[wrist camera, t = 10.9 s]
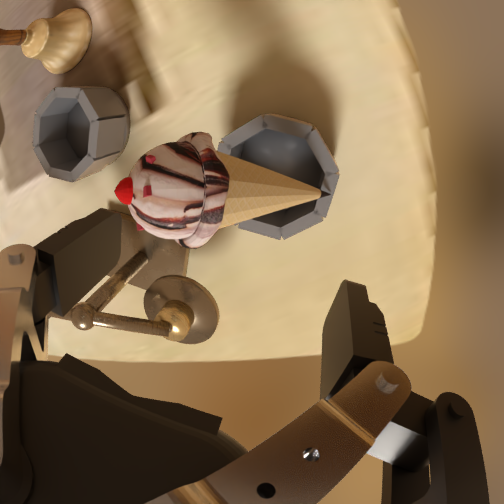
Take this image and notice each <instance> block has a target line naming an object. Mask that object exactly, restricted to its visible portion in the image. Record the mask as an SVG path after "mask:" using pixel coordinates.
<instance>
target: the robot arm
mask: <svg viewBox="0 0 504 504" xmlns="http://www.w3.org/2000/svg"><path fill="white" fill-rule="evenodd" d="M121 229H122V217H121V215H120V213H118V212H114V211H111V210H107V209H104V208H100V209H98V210H97V211H95V212H93V213H92V214H90V215H88V216H87V217H85V218H82V219H79V220H75V221H73V222H72V223H70V224H68V225H67V226H65V228H62V229H60V230H59V231H58V232H57V233H54V234H52V235H51V236H49V237H48V238H46V239H45V240H43V241H42V242H40V243H39V244H37V245H36V246H34V247H32V246H30V245H26V244H16V245H12V246H9V247H6V248H5V249H3V250H2V251H1V252H0V504H317V503H318V502H319V501H320V500H321V499H322V498H323V497H325V496H326V495H327V494H328V493H329V492H330V491H331V490H332V489H333V488H334V487H335V486H336V485H337V484H338V483H339V482H340V481H341V480H342V479H343V478H344V477H345V476H346V474H348V472H349V471H350V470H351V469H352V468H353V467H354V466H355V465H356V464H357V463H358V462H359V461H360V459H361V458H362V457H363V456H364V455H365V454H366V453H367V454H369V455H371V456H374V457H376V458H378V459H381V460H383V481H382V501H381V504H490V503H489V494H488V486H487V479H486V472H485V466H484V461H483V455H482V450H481V444H480V440H479V435H478V430H477V426H476V422H475V418H474V414H473V411H472V408H471V407H470V405H469V404H468V402H467V401H466V400H465V399H464V398H462V397H461V396H459V395H458V394H455V393H452V392H445V393H442V394H440V395H439V397H438V398H437V399H436V400H435V401H434V402H433V401H431V400H429V399H427V398H424V397H423V396H420V395H418V394H416V393H414V392H412V391H411V383H410V380H409V378H408V376H407V375H406V374H405V373H404V371H403V370H401V369H400V368H399V367H397V366H396V365H394V362H393V357H392V352H391V347H390V342H389V337H388V336H387V335H388V333H387V328H386V327H385V326H386V324H385V320H384V315H383V313H382V312H381V311H380V309H379V308H378V306H377V305H376V304H375V303H371V302H369V299H368V294H367V289H366V286H365V285H362V284H358V283H355V282H351V281H348V280H343V282H342V283H341V285H340V288H339V290H338V292H337V294H336V297H335V299H334V301H333V303H332V306H331V308H330V310H329V312H328V315H327V317H326V320H325V323H324V327H323V333H322V365H321V385H320V401H319V402H317V403H316V404H314V405H313V406H312V407H311V408H309V409H308V410H307V411H305V412H304V413H303V414H301V415H300V416H299V417H297V418H296V419H295V420H294V421H292V422H291V423H289V424H288V425H286V426H285V427H284V428H282V429H281V430H280V431H278V432H277V433H275V434H274V435H272V436H271V437H270V438H268V439H267V440H265V441H264V442H262V443H261V444H259V445H258V446H256V447H255V448H253V449H252V450H250V451H249V452H248V451H247V450H246V449H245V448H244V447H243V446H242V445H241V444H240V443H238V442H237V441H236V440H235V439H233V438H232V437H230V436H229V435H228V434H226V433H224V432H223V431H221V430H219V427H220V424H221V421H222V418H221V417H218V416H215V415H212V414H208V413H205V412H202V411H199V410H196V409H193V408H190V407H188V406H185V405H182V404H179V403H172V402H166V401H160V400H154V399H148V398H142V397H137V396H133V395H131V394H129V393H128V392H127V391H125V390H124V389H123V388H121V387H120V386H119V385H117V384H116V383H115V382H114V381H112V380H111V379H110V378H109V377H107V376H106V375H105V374H104V373H102V372H101V371H100V370H98V369H96V368H94V367H92V366H90V365H88V364H86V363H84V362H82V361H80V360H79V359H77V358H75V357H73V356H71V355H69V354H67V353H66V354H65V355H64V357H63V358H62V359H61V360H60V362H59V363H58V362H52V361H48V317H47V314H48V313H49V312H50V311H52V312H54V313H56V314H57V315H59V316H61V317H64V316H65V315H66V314H67V313H68V312H69V311H70V310H71V309H72V308H73V307H74V306H75V305H76V304H77V303H78V302H79V301H80V300H81V299H82V298H83V297H84V296H85V295H86V294H87V293H88V292H89V291H90V290H91V289H92V288H93V287H94V286H95V285H96V284H97V283H98V282H99V281H101V280H102V279H103V278H104V277H105V276H106V275H107V274H108V273H109V272H110V271H111V270H112V269H113V268H114V267H115V266H116V265H117V263H118V261H119V258H120V254H121ZM429 464H430V475H431V482H430V478H429Z"/></svg>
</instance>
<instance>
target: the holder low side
mask: <svg viewBox="0 0 504 504" xmlns="http://www.w3.org/2000/svg"><path fill="white" fill-rule="evenodd" d="M312 125H313V124H312V123H308V122H304V121H301V120H298V119H295V118H291V117H286V116H282V115H278V114H274V113H271V114H262V115H259V116H258V117H256V118H254V119H253V120H251V121H249V122H248V123H246V124H244V125H243V126H241V127H239V128H238V129H236V130H235V131H233V132H231V133H230V134H228V135H227V136H225V137H224V138H222V141H221V142H219V145H218V150H217V151H219V152H222V153H224V154H227V155H230V156H233V157H236V158H239V159H242V160H244V161H247V162H250V163H253V164H256V165H258V166H261V167H264V168H266V169H269V170H272V171H274V172H277V173H280V174H282V175H285V176H287V177H290V178H293V179H295V180H298V181H300V182H303V183H305V184H308V185H310V186H313V187H315V188H317V189H320V190H322V191H325V192H327V193H330V194H331V195H329V196H325V197H322V198H319V199H315V200H312V201H308V202H305V203H302V204H298V205H295V206H292V207H288V208H285V209H282V210H278V211H275V212H272V213H268V214H265V215H262V216H259V217H255V218H252V219H249V220H246V221H242V222H239V223H236V224H234V225H237V224H239V226H238V228H240V229H244V230H247V231H251V232H254V233H258V234H261V235H264V236H268V237H271V238H275V239H278V240H280V239H281V236H282V237H283V239H284V240H285V239H287V238H289V237H291V236H293V235H295V234H297V233H299V232H301V231H303V230H305V229H307V228H309V227H311V226H313V225H316V224H318V223H320V222H322V221H323V217H325V218H326V216H327V213H328V210H329V207H330V204H331V201H332V197H333V194H334V191H335V188H336V185H337V182H338V179H339V172H338V171H339V169H338V166H337V164H336V161H335V159H334V157H333V156H332V154H331V152H330V150H329V148H328V147H327V145H326V143H325V141H324V140H323V138H322V136H321V134H320V133H319V131H318V129H317V128H316V126H315V127H313V128H312Z"/></svg>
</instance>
